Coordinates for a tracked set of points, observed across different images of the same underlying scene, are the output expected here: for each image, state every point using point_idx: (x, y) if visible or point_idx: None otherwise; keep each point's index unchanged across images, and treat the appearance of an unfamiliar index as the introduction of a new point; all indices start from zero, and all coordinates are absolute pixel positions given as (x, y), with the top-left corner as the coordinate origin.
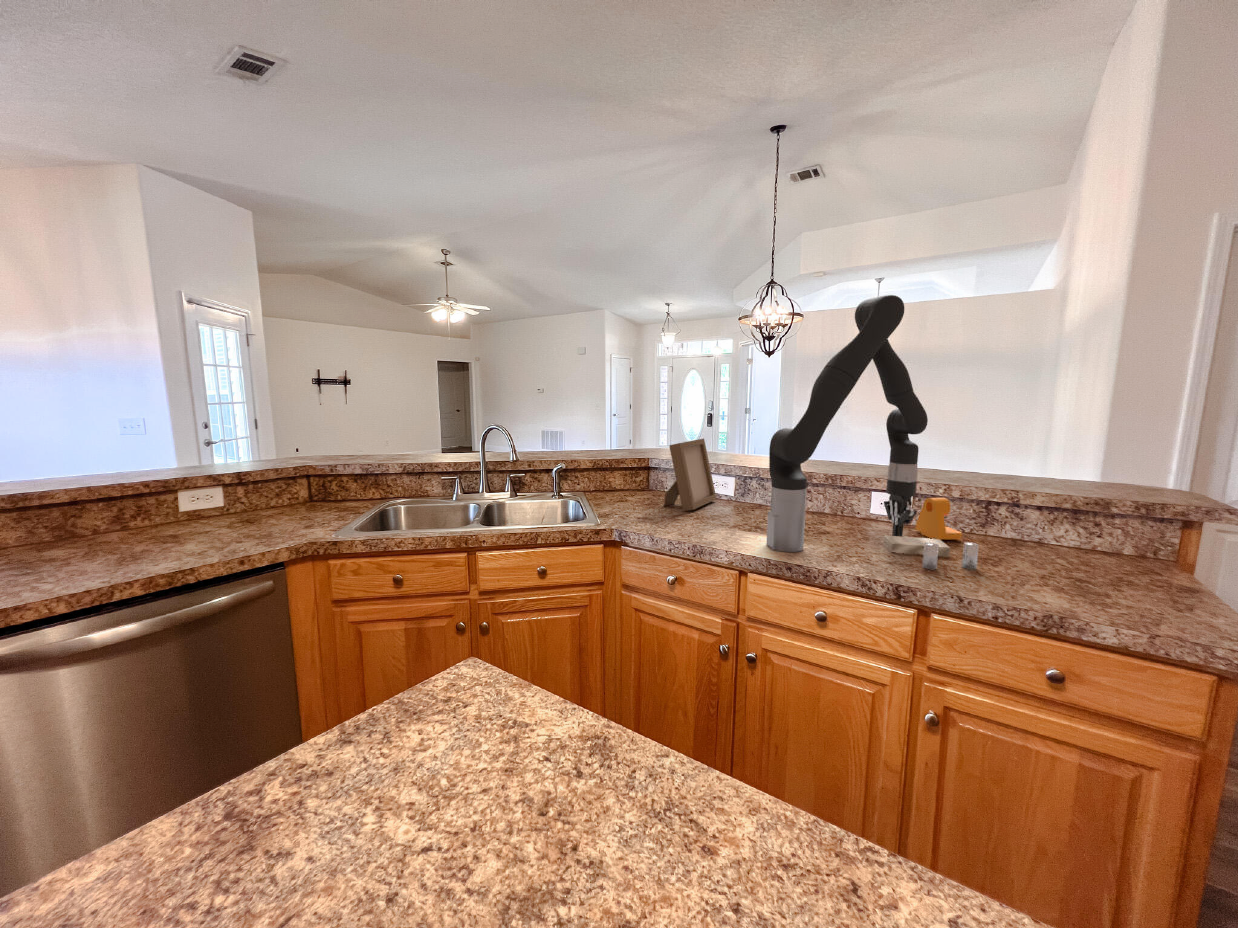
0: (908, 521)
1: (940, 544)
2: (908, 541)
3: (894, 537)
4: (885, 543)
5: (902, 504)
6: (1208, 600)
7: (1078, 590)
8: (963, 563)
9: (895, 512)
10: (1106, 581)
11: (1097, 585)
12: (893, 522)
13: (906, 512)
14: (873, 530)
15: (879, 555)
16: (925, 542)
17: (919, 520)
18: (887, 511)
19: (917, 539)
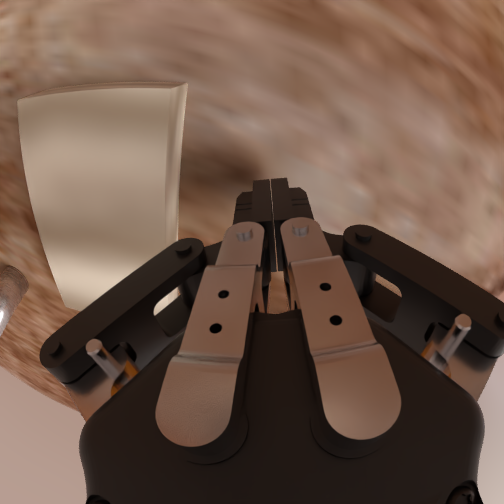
0: (171, 306)
1: (89, 299)
2: (73, 194)
3: (131, 142)
4: (145, 82)
5: (114, 424)
6: (70, 407)
7: (16, 349)
8: (2, 273)
9: (228, 297)
10: None
11: (53, 377)
12: (284, 223)
13: (50, 340)
14: (464, 166)
15: (10, 40)
16: (89, 262)
17: None
18: (423, 267)
19: (128, 252)
